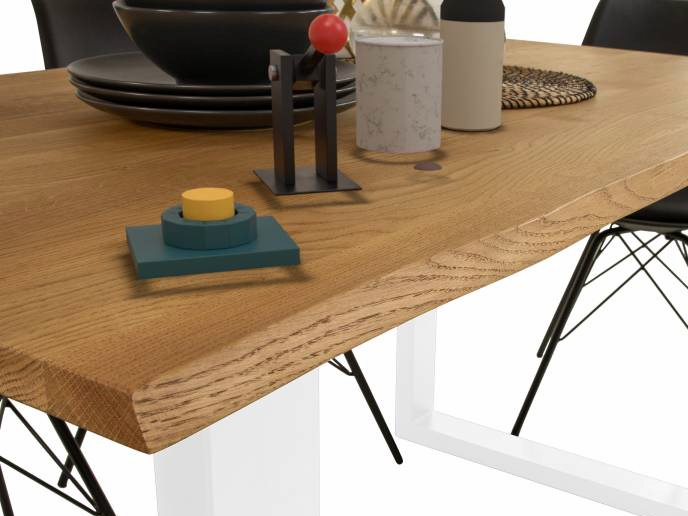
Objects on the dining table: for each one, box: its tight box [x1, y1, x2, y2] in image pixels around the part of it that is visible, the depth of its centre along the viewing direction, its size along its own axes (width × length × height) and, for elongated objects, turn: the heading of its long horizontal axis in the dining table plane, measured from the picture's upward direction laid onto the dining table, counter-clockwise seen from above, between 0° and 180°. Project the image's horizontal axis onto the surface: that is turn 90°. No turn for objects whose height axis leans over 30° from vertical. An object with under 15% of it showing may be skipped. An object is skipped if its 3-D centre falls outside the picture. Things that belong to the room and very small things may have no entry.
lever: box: [291, 13, 349, 91], centre depth 86 cm, size 13×3×3 cm, turn 21°
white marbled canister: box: [354, 34, 444, 154], centre depth 110 cm, size 10×10×12 cm
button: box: [181, 187, 235, 221], centre depth 72 cm, size 4×4×2 cm
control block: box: [125, 201, 301, 281], centre depth 73 cm, size 11×9×4 cm
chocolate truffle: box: [413, 160, 443, 172], centre depth 101 cm, size 3×3×2 cm
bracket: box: [252, 49, 363, 197], centre depth 93 cm, size 10×8×13 cm
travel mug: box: [439, 0, 506, 132], centre depth 125 cm, size 8×8×18 cm
